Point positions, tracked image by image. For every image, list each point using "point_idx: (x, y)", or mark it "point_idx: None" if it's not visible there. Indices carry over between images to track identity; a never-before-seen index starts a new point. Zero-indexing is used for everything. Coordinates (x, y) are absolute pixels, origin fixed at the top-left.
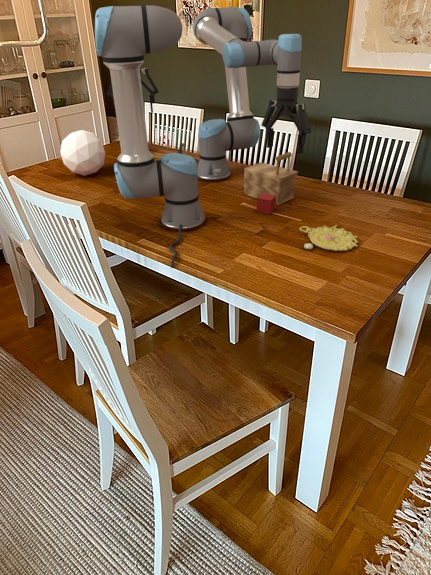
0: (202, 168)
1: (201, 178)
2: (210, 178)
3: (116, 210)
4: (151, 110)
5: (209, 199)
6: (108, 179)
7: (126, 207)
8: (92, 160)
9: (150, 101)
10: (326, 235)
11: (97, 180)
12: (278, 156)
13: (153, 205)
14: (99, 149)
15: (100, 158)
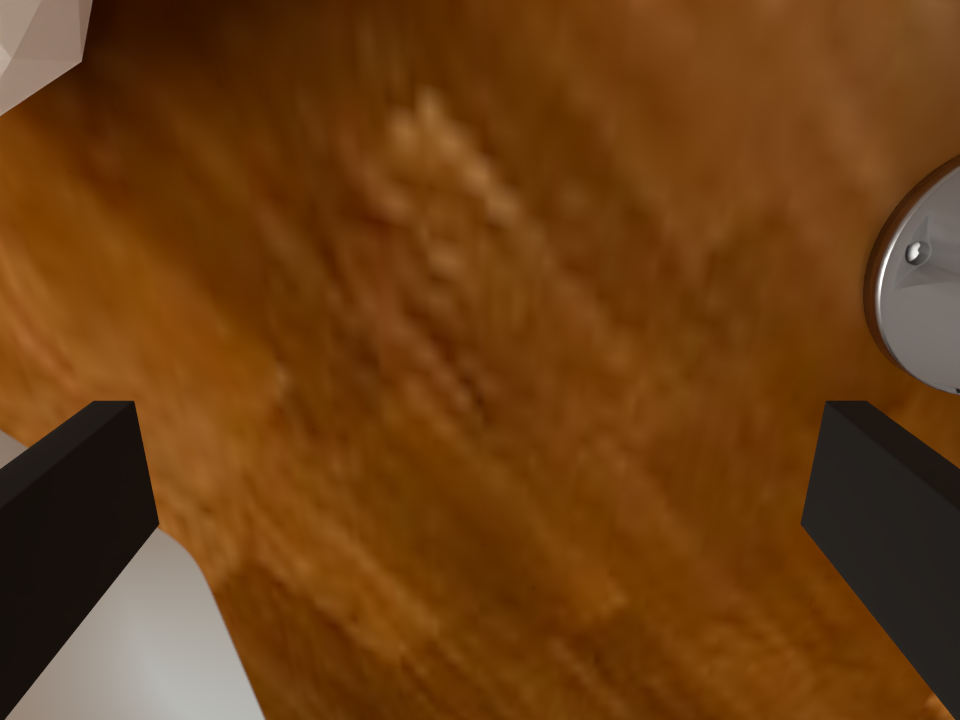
0: (941, 361)
1: (883, 347)
2: (936, 388)
3: (344, 656)
4: (833, 549)
5: (813, 622)
6: (213, 155)
7: (390, 634)
8: (5, 111)
9: (956, 707)
10: None
11: (131, 159)
12: None
13: (524, 636)
14: (5, 12)
15: (65, 37)
